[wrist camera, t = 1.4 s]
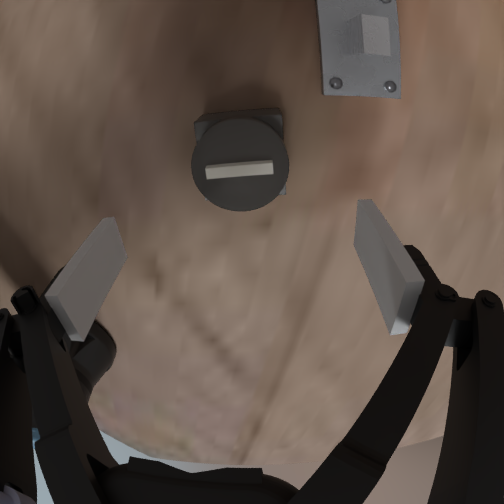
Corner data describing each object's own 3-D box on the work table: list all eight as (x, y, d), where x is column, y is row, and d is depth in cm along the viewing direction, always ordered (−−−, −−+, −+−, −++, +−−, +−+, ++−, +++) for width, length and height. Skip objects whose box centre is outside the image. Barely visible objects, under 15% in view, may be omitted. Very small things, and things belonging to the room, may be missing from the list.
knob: (210, 184, 32) (197, 219, 26) (200, 113, 28) (182, 128, 21) (284, 179, 32) (291, 212, 25) (280, 105, 27) (287, 118, 21)
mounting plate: (321, 94, 26) (333, 99, 22) (312, -17, 20) (322, -32, 16) (396, 97, 26) (418, 105, 22) (390, -9, 19) (412, -18, 15)
